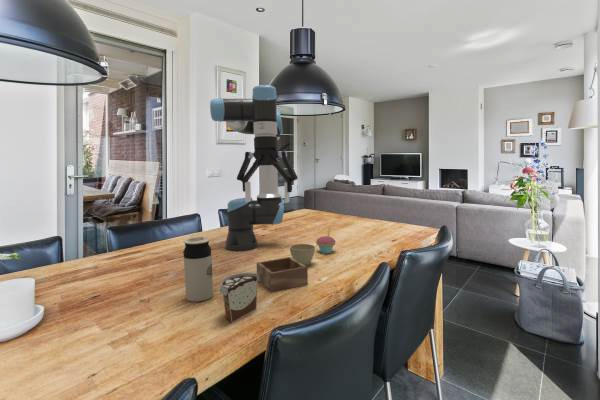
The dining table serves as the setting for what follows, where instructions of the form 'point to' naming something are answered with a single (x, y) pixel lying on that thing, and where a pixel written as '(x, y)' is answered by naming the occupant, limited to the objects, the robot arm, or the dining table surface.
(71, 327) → the dining table surface
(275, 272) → the open box
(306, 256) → the flower pot
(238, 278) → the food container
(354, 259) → the dining table surface
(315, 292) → the dining table surface
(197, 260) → the travel mug
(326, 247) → the cupcake
